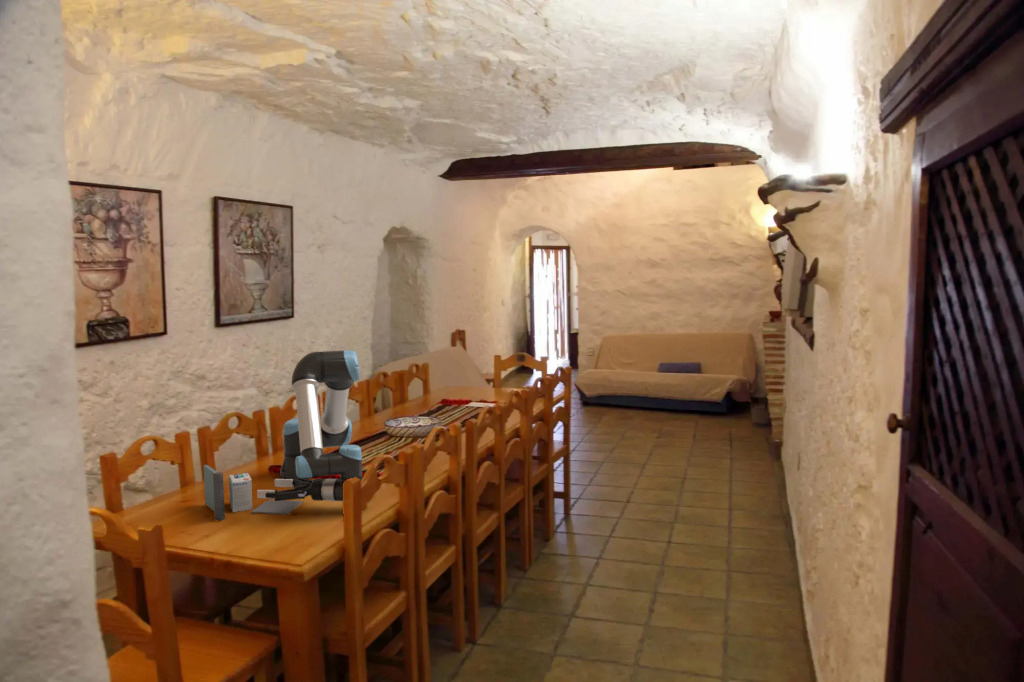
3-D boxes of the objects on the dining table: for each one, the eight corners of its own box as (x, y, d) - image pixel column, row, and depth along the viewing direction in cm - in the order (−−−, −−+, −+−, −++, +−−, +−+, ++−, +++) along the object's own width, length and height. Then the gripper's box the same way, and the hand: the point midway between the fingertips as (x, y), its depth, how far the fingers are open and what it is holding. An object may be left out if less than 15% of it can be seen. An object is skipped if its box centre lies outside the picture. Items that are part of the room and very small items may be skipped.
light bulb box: (229, 503, 257) (228, 474, 256) (249, 501, 260) (248, 472, 259) (232, 512, 248) (231, 482, 246) (253, 509, 251) (252, 479, 250)
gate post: (218, 518, 241) (216, 472, 240) (224, 518, 241) (222, 472, 240) (215, 520, 239) (213, 474, 238) (221, 520, 239) (219, 474, 238)
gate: (205, 503, 255) (203, 465, 254) (208, 503, 256) (207, 464, 255) (220, 516, 242) (219, 476, 240) (224, 516, 242) (222, 475, 241)
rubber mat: (268, 501, 259) (268, 499, 259) (302, 502, 258) (302, 500, 258) (251, 513, 247) (251, 511, 247) (287, 514, 245) (287, 512, 245)
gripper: (311, 511, 238) (250, 509, 240) (337, 489, 262) (282, 488, 265) (310, 489, 237) (249, 488, 239) (337, 469, 262) (281, 468, 264)
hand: (266, 488), depth 252 cm, fingers open, 13 cm apart
